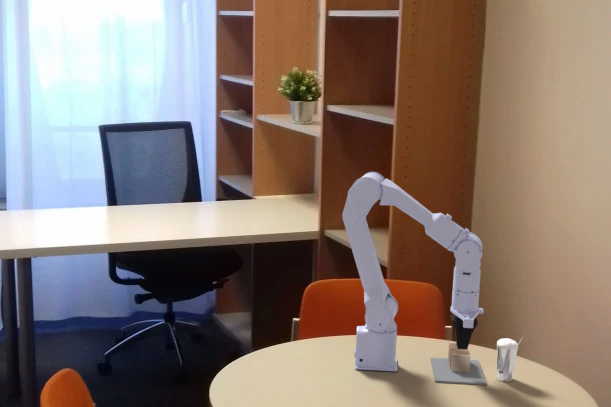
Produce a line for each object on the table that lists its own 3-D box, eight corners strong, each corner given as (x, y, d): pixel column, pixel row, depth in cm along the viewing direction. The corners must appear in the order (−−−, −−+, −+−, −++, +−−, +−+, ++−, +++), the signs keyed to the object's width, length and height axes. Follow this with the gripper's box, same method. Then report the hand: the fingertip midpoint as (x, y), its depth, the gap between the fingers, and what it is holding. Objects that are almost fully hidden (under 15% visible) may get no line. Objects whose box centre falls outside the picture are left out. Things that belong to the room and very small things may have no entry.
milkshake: (520, 384, 159) (523, 340, 157) (494, 381, 160) (498, 338, 159) (518, 376, 164) (521, 333, 162) (493, 373, 165) (496, 331, 163)
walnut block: (452, 354, 164) (449, 343, 171) (451, 371, 164) (448, 359, 171) (470, 355, 163) (466, 344, 170) (469, 372, 164) (465, 360, 171)
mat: (435, 382, 159) (435, 380, 159) (430, 359, 172) (430, 357, 172) (486, 385, 158) (486, 383, 158) (478, 361, 171) (478, 360, 171)
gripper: (489, 300, 153) (485, 361, 155) (479, 280, 167) (475, 337, 169) (455, 298, 153) (451, 359, 156) (448, 279, 168) (445, 335, 170)
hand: (462, 348), depth 163 cm, fingers closed
